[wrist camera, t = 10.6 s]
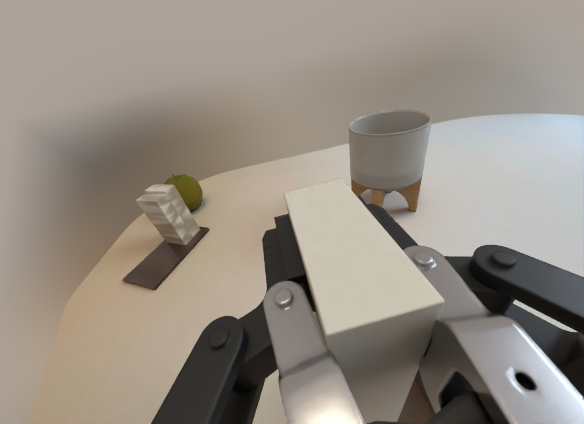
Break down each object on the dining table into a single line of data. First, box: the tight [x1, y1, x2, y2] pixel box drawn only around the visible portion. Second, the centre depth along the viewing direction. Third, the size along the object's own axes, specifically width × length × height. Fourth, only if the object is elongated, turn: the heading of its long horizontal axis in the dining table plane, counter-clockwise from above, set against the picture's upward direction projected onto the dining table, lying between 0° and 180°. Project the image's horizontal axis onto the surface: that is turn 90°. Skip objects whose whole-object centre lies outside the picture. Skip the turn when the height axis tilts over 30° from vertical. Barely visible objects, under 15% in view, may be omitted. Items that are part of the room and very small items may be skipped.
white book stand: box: [123, 185, 209, 290], centre depth 44 cm, size 17×9×13 cm, turn 160°
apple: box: [164, 174, 202, 211], centre depth 60 cm, size 10×10×11 cm
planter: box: [349, 110, 432, 212], centre depth 42 cm, size 13×13×18 cm
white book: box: [284, 178, 445, 424], centre depth 10 cm, size 3×6×12 cm, turn 10°
